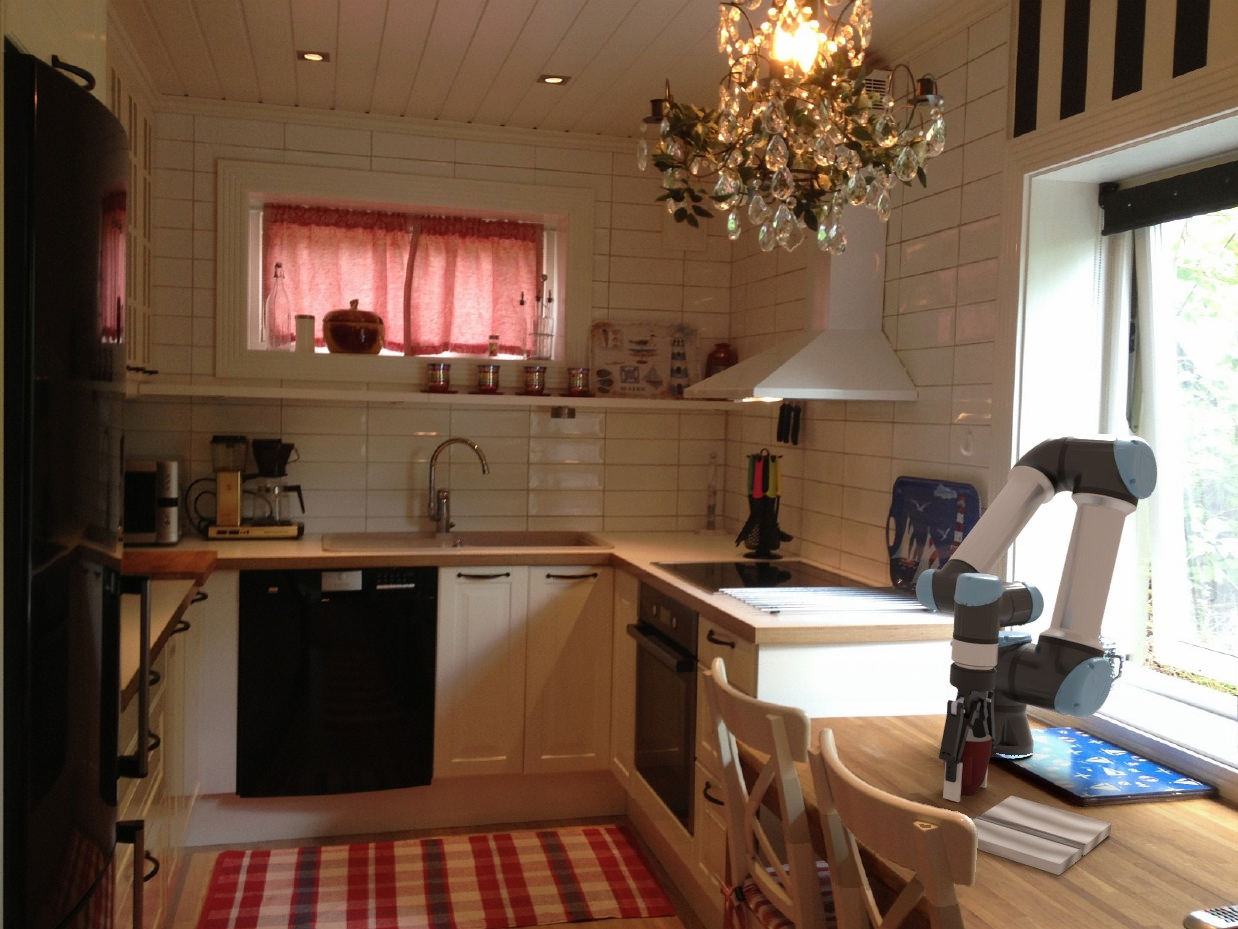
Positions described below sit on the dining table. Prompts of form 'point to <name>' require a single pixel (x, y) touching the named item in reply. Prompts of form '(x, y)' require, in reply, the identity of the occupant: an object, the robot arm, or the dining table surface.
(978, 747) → the mug
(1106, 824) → the plank
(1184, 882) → the dining table surface
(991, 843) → the laid board
